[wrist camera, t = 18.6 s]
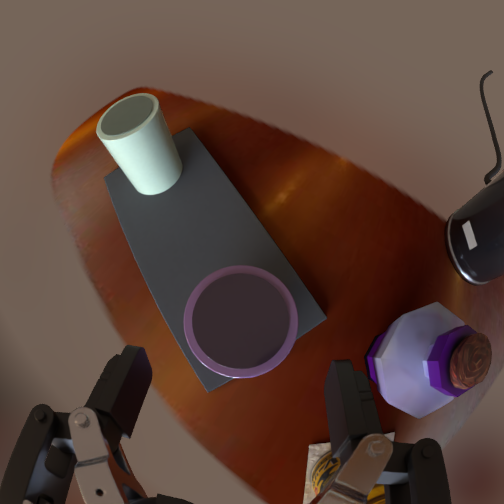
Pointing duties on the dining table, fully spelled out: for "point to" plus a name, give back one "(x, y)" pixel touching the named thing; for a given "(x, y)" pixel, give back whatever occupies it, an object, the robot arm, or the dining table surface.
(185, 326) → the purple tumbler
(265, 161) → the dining table surface
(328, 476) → the condiment
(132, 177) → the celadon tumbler
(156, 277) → the placemat
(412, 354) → the potion bottle
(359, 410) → the robot arm
